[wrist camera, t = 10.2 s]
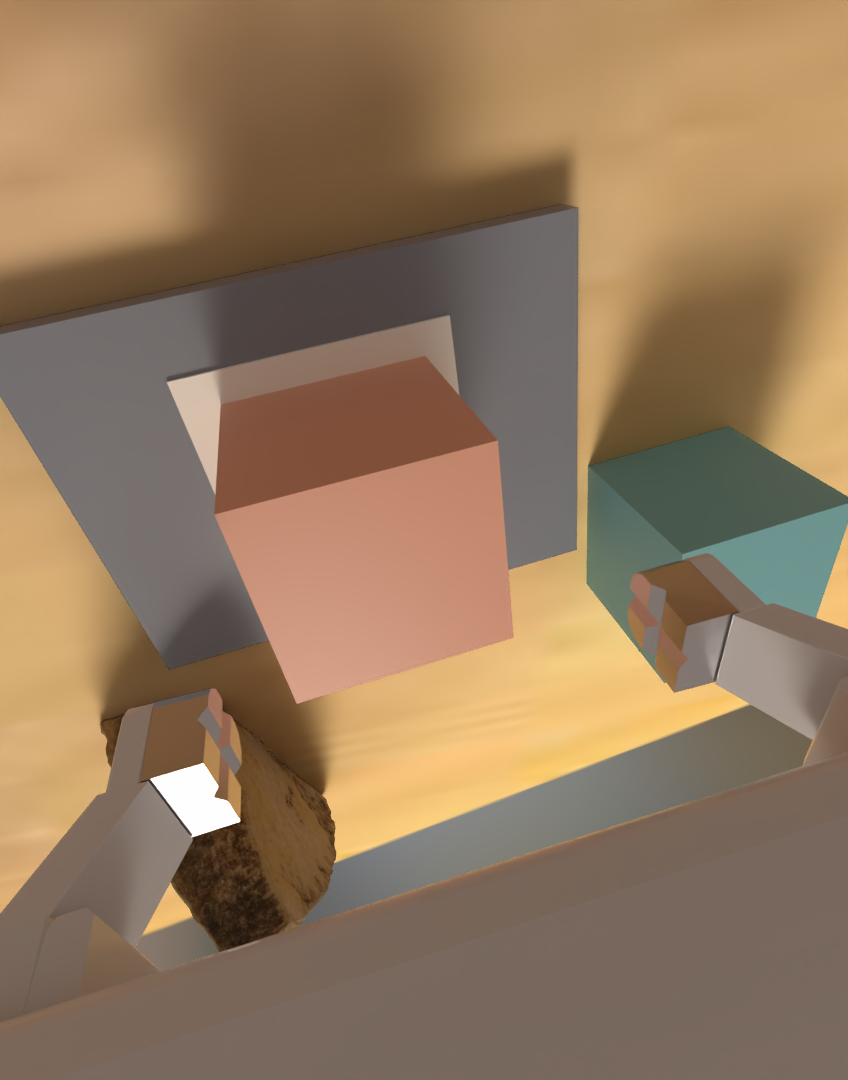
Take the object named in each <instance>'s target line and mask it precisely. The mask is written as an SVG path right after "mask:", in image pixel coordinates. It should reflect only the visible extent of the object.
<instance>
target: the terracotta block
mask: <svg viewBox="0 0 848 1080" xmlns="http://www.w3.org/2000/svg"><path fill="white" fill-rule="evenodd" d="M214 515H215V517H216V520H217V522H218V524H219V527H220V529H221V531H222V533H223V536H224V538H225V540H226V543H227V545H228V547H229V550H230V552H231V554H232V556H233V559H234V561H235V563H236V566H237V568H238V570H239V572H240V575H241V577H242V579H243V582H244V584H245V586H246V589H247V591H248V593H249V595H250V598H251V600H252V602H253V605H254V607H255V609H256V611H257V614H258V616H259V618H260V621H261V623H262V625H263V628H264V630H265V632H266V634H267V637H268V639H269V641H270V644H271V646H272V648H273V651H274V653H275V655H276V657H277V660H278V662H279V664H280V667H281V669H282V671H283V673H284V676H285V678H286V680H287V683H288V685H289V687H290V690H291V692H292V694H293V696H294V699H295V701H296V703H297V704H298V703H301V702H304V701H308V700H311V699H314V698H317V697H321V696H324V695H327V694H331V693H334V692H337V691H340V690H344V689H347V688H350V687H353V686H357V685H360V684H363V683H367V682H370V681H373V680H376V679H380V678H383V677H386V676H389V675H393V674H396V673H399V672H403V671H406V670H409V669H412V668H416V667H419V666H422V665H425V664H429V663H432V662H435V661H438V660H442V659H445V658H448V657H452V656H455V655H458V654H461V653H465V652H468V651H471V650H474V649H478V648H481V647H484V646H488V645H491V644H494V643H497V642H501V641H504V640H507V639H510V638H514V637H513V624H512V612H511V599H510V587H509V574H508V562H507V549H506V536H505V524H504V511H503V499H502V486H501V473H500V461H499V448H498V440H497V439H496V438H495V437H494V435H493V434H492V433H491V432H490V431H489V430H488V428H487V427H486V426H485V425H484V424H483V423H482V421H481V420H480V419H479V418H478V417H477V416H476V414H475V413H474V412H473V411H472V410H471V409H470V407H469V406H468V405H467V404H466V403H465V402H464V400H463V399H462V398H461V397H460V396H459V395H458V393H457V392H456V391H455V390H454V389H453V388H452V386H451V385H450V384H449V383H448V382H447V381H446V379H445V378H444V377H443V376H442V375H441V374H440V372H439V371H438V370H437V369H436V368H435V367H434V365H433V364H432V363H431V362H430V361H429V360H428V358H427V357H426V356H422V357H418V358H414V359H410V360H405V361H401V362H397V363H393V364H389V365H384V366H380V367H376V368H372V369H368V370H364V371H359V372H355V373H351V374H347V375H343V376H338V377H334V378H330V379H326V380H322V381H317V382H313V383H309V384H305V385H301V386H297V387H292V388H288V389H284V390H280V391H276V392H271V393H267V394H263V395H259V396H255V397H250V398H246V399H242V400H238V401H234V402H229V403H225V404H221V407H220V424H219V442H218V459H217V476H216V494H215V511H214Z"/></svg>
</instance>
